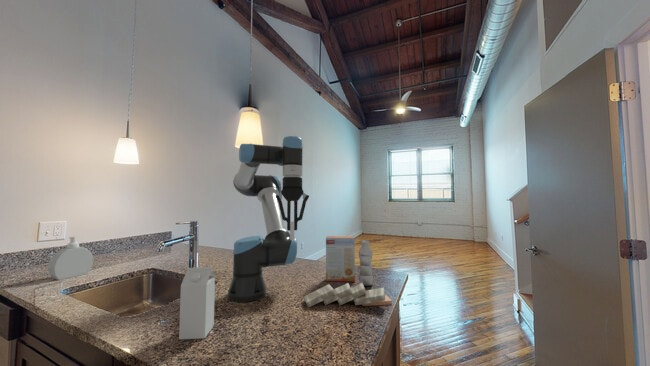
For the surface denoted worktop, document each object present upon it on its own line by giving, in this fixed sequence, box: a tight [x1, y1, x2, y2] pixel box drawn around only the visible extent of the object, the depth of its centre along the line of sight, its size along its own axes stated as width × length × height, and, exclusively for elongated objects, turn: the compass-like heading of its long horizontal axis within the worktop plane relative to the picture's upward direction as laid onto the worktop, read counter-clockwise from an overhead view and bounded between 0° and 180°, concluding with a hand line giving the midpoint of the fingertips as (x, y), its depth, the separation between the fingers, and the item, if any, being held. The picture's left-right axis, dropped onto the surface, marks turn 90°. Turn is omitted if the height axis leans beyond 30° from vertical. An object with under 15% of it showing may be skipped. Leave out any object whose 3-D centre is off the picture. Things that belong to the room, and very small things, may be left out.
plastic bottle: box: [358, 239, 374, 287], centre depth 115 cm, size 6×7×20 cm
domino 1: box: [303, 283, 335, 308], centre depth 95 cm, size 2×6×11 cm
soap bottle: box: [47, 236, 94, 281], centre depth 129 cm, size 16×5×20 cm, turn 161°
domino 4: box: [353, 287, 386, 306], centre depth 93 cm, size 2×6×11 cm
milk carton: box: [178, 267, 216, 340], centre depth 75 cm, size 7×7×19 cm
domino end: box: [361, 294, 393, 307], centre depth 96 cm, size 2×6×11 cm
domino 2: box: [322, 282, 352, 306], centre depth 97 cm, size 2×6×11 cm
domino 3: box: [337, 283, 367, 306], centre depth 96 cm, size 2×6×11 cm
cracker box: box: [325, 235, 356, 283], centre depth 123 cm, size 14×6×21 cm, turn 84°
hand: (292, 239), depth 95 cm, fingers closed
